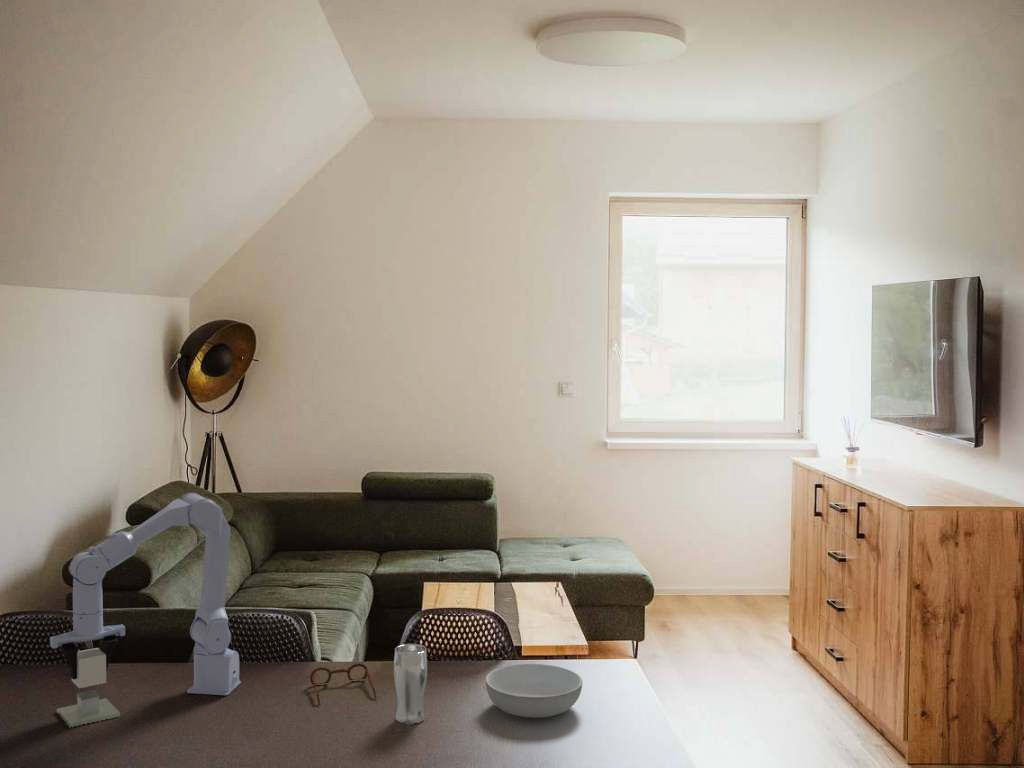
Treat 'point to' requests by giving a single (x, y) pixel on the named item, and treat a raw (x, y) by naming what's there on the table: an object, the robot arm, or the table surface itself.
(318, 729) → the table surface
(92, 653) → the sleeve
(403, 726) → the table surface
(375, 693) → the glasses
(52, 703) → the table surface
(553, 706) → the serving bowl
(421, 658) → the beer glass
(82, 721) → the duct stub
